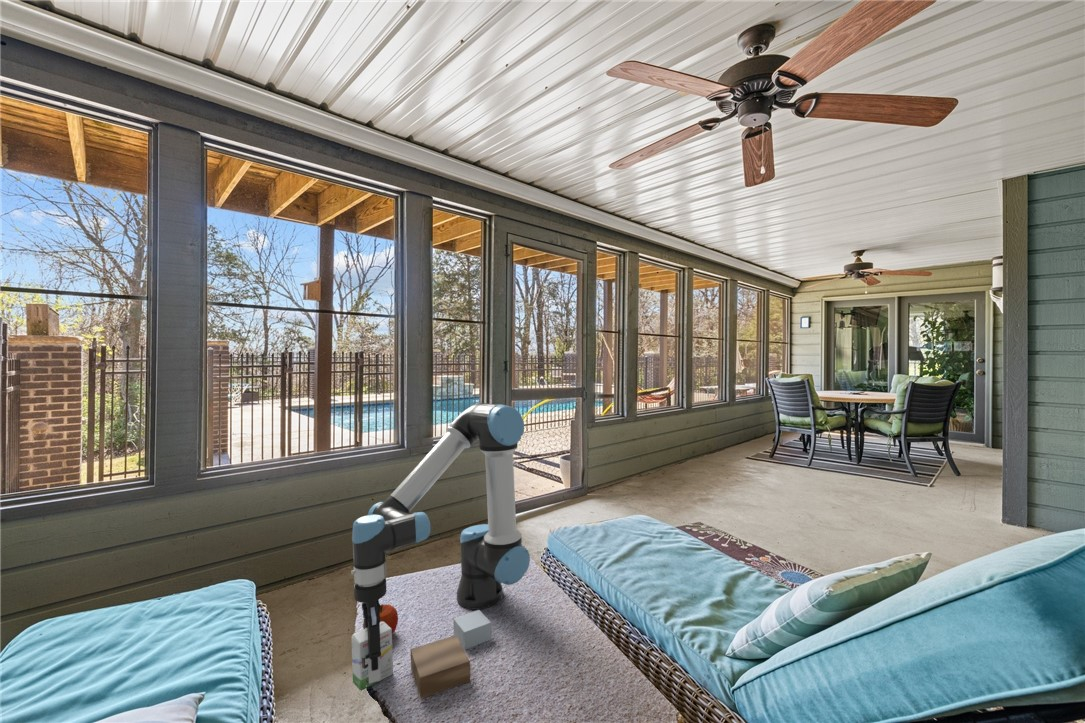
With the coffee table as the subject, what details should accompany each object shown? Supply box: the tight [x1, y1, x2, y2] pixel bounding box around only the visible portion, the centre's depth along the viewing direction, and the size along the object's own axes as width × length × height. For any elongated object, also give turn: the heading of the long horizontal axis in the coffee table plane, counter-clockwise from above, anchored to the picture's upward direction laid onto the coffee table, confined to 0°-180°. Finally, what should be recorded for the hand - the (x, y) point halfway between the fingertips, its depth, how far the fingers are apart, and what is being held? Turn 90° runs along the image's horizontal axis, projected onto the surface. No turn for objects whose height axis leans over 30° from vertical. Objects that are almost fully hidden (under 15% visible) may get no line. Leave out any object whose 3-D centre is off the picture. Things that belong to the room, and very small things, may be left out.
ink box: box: [350, 622, 394, 692], centre depth 114 cm, size 8×5×12 cm, turn 135°
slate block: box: [453, 609, 492, 651], centre depth 130 cm, size 8×8×5 cm
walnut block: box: [409, 635, 471, 700], centre depth 114 cm, size 12×12×5 cm
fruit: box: [362, 603, 399, 635], centre depth 131 cm, size 10×10×10 cm
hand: (373, 672), depth 114 cm, fingers closed on ink box, 6 cm apart
